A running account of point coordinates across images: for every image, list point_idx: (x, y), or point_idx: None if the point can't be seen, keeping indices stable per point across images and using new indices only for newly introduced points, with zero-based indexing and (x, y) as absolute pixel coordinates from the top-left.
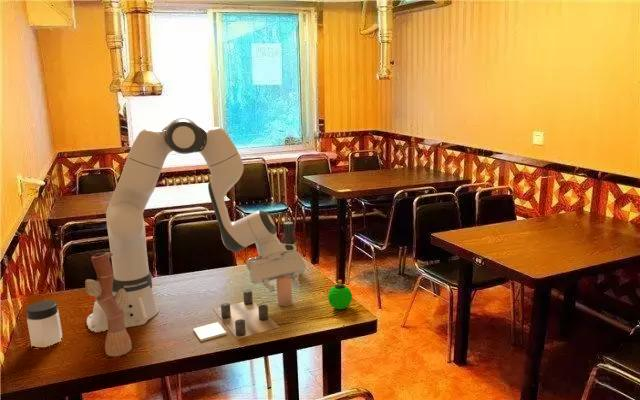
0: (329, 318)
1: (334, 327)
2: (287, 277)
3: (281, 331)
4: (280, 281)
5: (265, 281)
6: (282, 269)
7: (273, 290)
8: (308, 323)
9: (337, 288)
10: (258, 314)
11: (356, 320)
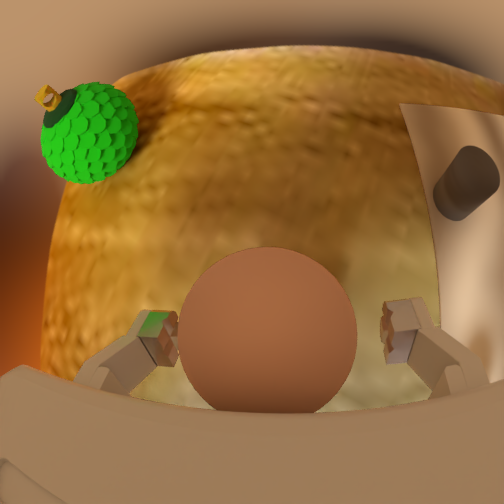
0: (193, 98)
1: (217, 52)
2: (202, 357)
3: (395, 81)
4: (330, 285)
5: (475, 367)
6: (196, 464)
7: (396, 300)
8: (280, 87)
9: (76, 92)
10: (466, 255)
11: (142, 76)
